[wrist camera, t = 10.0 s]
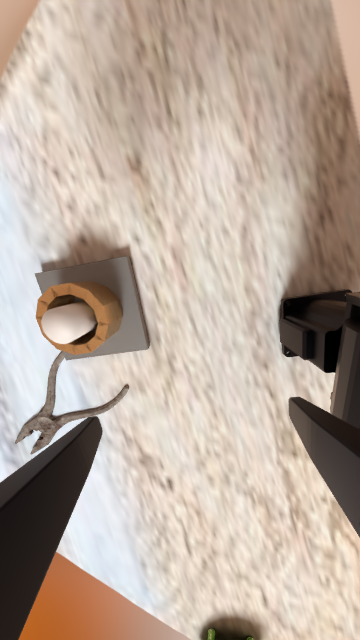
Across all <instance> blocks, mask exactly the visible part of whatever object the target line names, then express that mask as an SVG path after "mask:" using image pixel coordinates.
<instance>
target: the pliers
mask: <svg viewBox="0 0 360 640" xmlns="http://www.w3.org/2000/svg"><path fill="white" fill-rule="evenodd" d="M64 357H65V356H64V353H63V351H62V352H61V353H60V354H59V356H58V357H57V358H56V360H55V361H54V363H53V365H52V367H51V369H50V372H49V377H48V387H47V397H46V403H45V406H44V408H43V410H42V411H41V412H40V413H39V415H38V416H37V417H36V418H34V419H33V420H31V421H30V422H28V423H27V424H25V425H24V426H23V428H22V430H21V432H20V434H19V436H18V438H17V440H16V442H15V443H18V442H20V441H21V440H23V439H24V438H25V437H26V436H29V435H31V434H32V433H33V432H34V431H33V430H36V431H38V430H39V431H40V432H42V433H41V435H42V436H43V437H40V438H39V439H38V440H37V444H36V445H35V446H34V448H33V450H32V452H31V453H30V454H33V453H35V452H37V451H38V450H40V449H42V448H43V447H45V446H46V445H48V444H49V443H50V441H51V440H52V438H53V437H54V435H55V433H56V432H57V430H59V429H60V428H61V427H62V426H63V425H65V424H66V423H68V422H71V421H74V420H77V419H82V418H86V417H90V416H95V415H98V414H101V413H103V412H105V411H108V410H109V409H111V408H112V407H114V406H115V405H116V404H117V403H118V402H119V401H120V400H121V399H122V398H123V397H124V396H125V394H126V393H127V391H128V389H129V386H128V385H127V386H125V387H124V389H123V390H122V391H121V393H120V394H119V395H118V396H117V397H116V398H115V399H114V400H113V401H111V402H110V403H108V404H107V405H105V406H102V407H100V408H96V409H92V410H86V411H80V412H74V413H69V414H66V415H63V416H60V417H58V418H54V417H53V416H52V413H53V409H54V405H55V385H56V374H57V370H58V367H59V365H60V363H61V362H62V360H63V359H64Z"/></svg>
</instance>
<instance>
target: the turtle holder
mask: <svg viewBox="0 0 360 640" xmlns="http://www.w3.org/2000/svg"><path fill="white" fill-rule="evenodd" d="M208 640H215V630H214V629H212V628H210V629H209V630H208ZM246 640H254V639H253V638H252V637H248V638H247V639H246Z"/></svg>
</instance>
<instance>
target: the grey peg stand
mask: <svg viewBox="0 0 360 640" xmlns="http://www.w3.org/2000/svg"><path fill="white" fill-rule="evenodd" d="M35 276H36V279H37V282H38V284H39V287H40V290H41V293H42V295H43V294H44V293H45V291H46V290H47V289H48V288H49V287H50V286H55V285H60V284H66V283H74V282H88V281H93V282H96V283H98V284H101V285H104V286H106V287H108V288H109V289H110V290H111V291H112V292H113V293H114V294H115V296H116V297H117V298H118V299H119V301H120V304H121V308H122V312H123V319H122V322H121V326H120V330H119V331H117V332H116V333H115V334H114V335H113V336H112V337H110V338H109V339H108V340H107V341H106V342H104V343H103V344H102V345H100V346H99V347H98V348H97V349H95V350H94V351H93V352H92V353H85V354H78V355H73V354H70V353H68V352H65V351H63V353H64V356H65V359H66V360H71V359H79V358H86V357H94V356H102V355H109V354H117V353H124V352H132V351H139V350H147V349H148V348H149V346H150V344H149V340H148V335H147V331H146V326H145V322H144V318H143V313H142V309H141V304H140V300H139V296H138V291H137V287H136V282H135V278H134V274H133V269H132V265H131V260H130V257H128V256H124V257H119V258H114V259H109V260H103V261H98V262H93V263H88V264H83V265H77V266H72V267H67V268H62V269H57V270H51V271H46V272H41V273H36V274H35ZM41 324H42V329H43V331H44V333H45V334H46V336H47V337H48V338H49V339H51V340H52V341H54V342H56V343H59V344H67V343H70V342H72V341H74V340H75V339H77V338H79V337H81V336H82V335H84V334H86V333H88V332H92V333H96V330H97V326H98V322H97V319H96V315H95V312H94V310H93V309H92V308H91V306H90V305H89V304H88V303H87V302H86V301H85V300H84V299H82V298H79V297H76V298H75V299H74V302H73V303H72V304H69V305H65V306H61V307H57V308H53V309H49V310H48V311H46V312H45V313H44V315H43V317H42V321H41Z"/></svg>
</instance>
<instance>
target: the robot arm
mask: <svg viewBox="0 0 360 640" xmlns="http://www.w3.org/2000/svg"><path fill="white" fill-rule="evenodd" d="M345 293H346V296H345V297H344V294H345ZM287 301H288V302H289V303H288V305H286V302H287ZM280 342H281V343H282V353H283V354H284V355H285V356H286V357H294V356H300V357H301V358H302V359H303V360H309V361H310V362H312V363H313V364H314V365H316V366H317V367H318V368H320V369H321V370H323V371H324V372H325V373H332V372H335V380H334V386H333V392H332V393H331V398H330V399H331V406H330V412H331V414H330V413H328V412H327V411H325V410H323V409H321V408H319V407H317V406H316V405H314V404H312V403H310V402H308V401H306V400H305V399H303V398H301V397H291V398H289V416H290V419H291V421H292V423H293V425H294V427H295V429H296V431H297V433H298V435H299V437H300V439H301V441H302V443H303V444H304V446H305V448H306V450H307V452H308V454H309V456H310V458H311V460H312V461H313V463H314V465H315V466H316V468H317V470H318V471H319V473H320V474H321V476H322V478H323V479H324V481H325V482H326V484H327V486H328V487H329V489H330V490H331V492H332V494H333V495H334V497H335V499H336V500H337V502H338V503H339V505H340V507H341V508H342V510H343V511H344V513H345V515H346V516H347V518H348V519H349V521H350V523H351V524H352V526H353V528H354V529H355V531H356V532H357V534H358V536H359V537H360V292H355V293H352V291H350V290H337V291H331V292H324V293H317V294H311V295H304V296H298V297H291V298H285V299H283V300H282V302H281V319H280ZM287 351H289V353H287ZM101 436H102V427H101V424H100V421H99V418H98V417H97V416H93V417H88V418H87V419H85V420H84V421H82V422H81V423H80V424H78V425H77V426H76V427H74V428H73V429H72V430H70V431H69V432H68V433H66V434H65V435H64V436H62V437H61V438H60V439H58V440H57V441H56V442H54V443H53V444H52V445H50V446H49V447H48V448H46V449H45V450H44V451H42V452H41V453H40V454H38V455H37V456H35V457H34V458H33V459H31V460H30V461H29V462H27V463H26V464H25V465H23V466H22V467H21V468H19V469H18V470H17V471H15V472H14V473H13V474H11V475H10V476H9V477H7V478H6V479H5V480H3V481H2V482H1V483H0V640H18V639H19V637H20V635H21V632H22V630H23V628H24V625H25V623H26V621H27V618H28V616H29V613H30V611H31V609H32V606H33V604H34V601H35V599H36V597H37V595H38V592H39V590H40V587H41V585H42V583H43V581H44V578H45V576H46V573H47V571H48V569H49V566H50V564H51V562H52V559H53V557H54V554H55V552H56V550H57V548H58V545H59V543H60V540H61V538H62V536H63V533H64V531H65V529H66V526H67V524H68V522H69V519H70V517H71V515H72V512H73V510H74V507H75V505H76V503H77V500H78V498H79V496H80V493H81V491H82V489H83V486H84V484H85V482H86V479H87V477H88V474H89V472H90V469H91V466H92V463H93V460H94V457H95V454H96V451H97V448H98V445H99V442H100V439H101Z"/></svg>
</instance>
